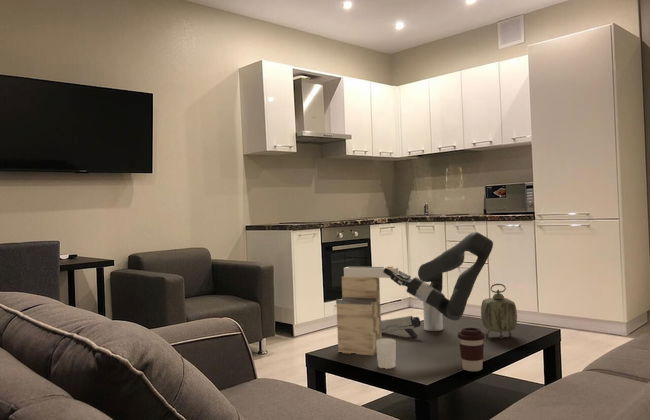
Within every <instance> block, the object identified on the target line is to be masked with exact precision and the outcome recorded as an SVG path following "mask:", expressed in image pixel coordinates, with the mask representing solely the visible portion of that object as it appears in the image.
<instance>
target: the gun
mask: <svg viewBox="0 0 650 420" xmlns="http://www.w3.org/2000/svg"><path fill="white" fill-rule="evenodd" d="M421 326H422V325H421V319H420V318H419V316H415V317H413V315H407V316H401V317H395V318H389V319H384V320H383V319H381V334H383V333H385V334H386V333H390V332H391V333H392V332H398V331H399V332H400V331H405V332H406V333H407V334H408V335H409V336H410V338H417V337H418V334H417V333H416V332H415V330H414V329H416V328H419V327H421Z"/></svg>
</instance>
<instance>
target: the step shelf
mask: <svg viewBox="0 0 650 420" xmlns="http://www.w3.org/2000/svg"><path fill="white" fill-rule="evenodd" d="M380 287H381V286H380V278H376V277H344V275H343V276H341V292H342V293H341V294H342V295H341V296H342V297H341V299H335V303H336V322H337V323H336V326H337V328H336V329H337V350H338V351H337V352H342V354H351V353H356V354H355V355H363V356H364V355H366V356H374V355H376V354H377V351H376V340H378V339H383V338H382V333H381V320H382V314H381V313H382V311H381V289H380Z"/></svg>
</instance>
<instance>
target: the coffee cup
mask: <svg viewBox="0 0 650 420" xmlns="http://www.w3.org/2000/svg"><path fill="white" fill-rule="evenodd" d="M485 334H486V333H484V332H483V331H481V329H480V328H476V327H465V328H462V329H461V331H459V332H457V338H458V339H459V352H460V358H461V364H462V369H463V370H464V371H468V372H479V371H481V370H483V360H484V351H485V350H484V347H485V344H484V340H485V338H486V336H485Z"/></svg>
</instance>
